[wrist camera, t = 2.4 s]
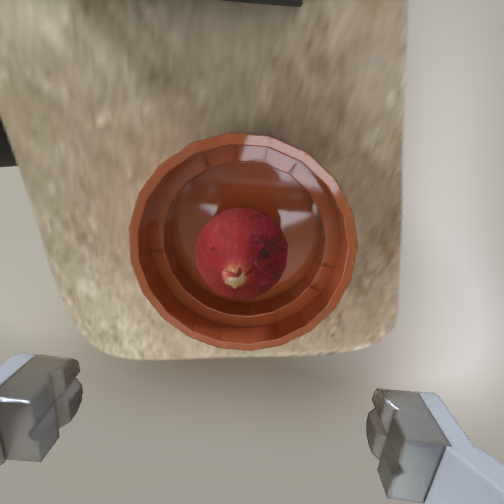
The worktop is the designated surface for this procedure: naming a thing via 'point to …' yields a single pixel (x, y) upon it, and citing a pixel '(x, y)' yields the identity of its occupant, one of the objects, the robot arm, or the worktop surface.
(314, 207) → the bowl
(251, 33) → the worktop surface
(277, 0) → the bin
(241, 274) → the pomegranate
